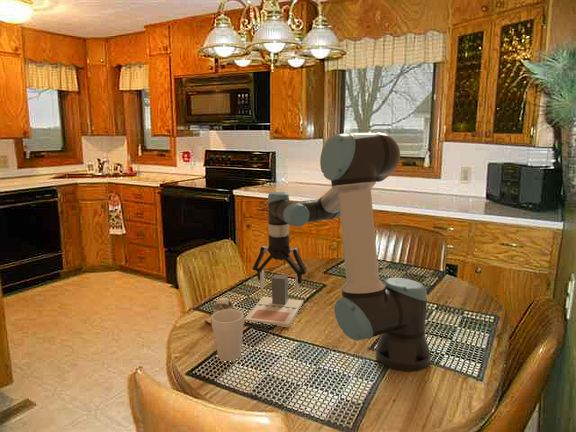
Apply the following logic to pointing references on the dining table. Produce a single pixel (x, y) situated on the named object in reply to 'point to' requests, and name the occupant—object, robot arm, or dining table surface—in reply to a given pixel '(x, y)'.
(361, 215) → the robot arm
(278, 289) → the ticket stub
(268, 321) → the white flat piece
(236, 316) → the foam cup
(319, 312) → the dining table surface
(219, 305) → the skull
